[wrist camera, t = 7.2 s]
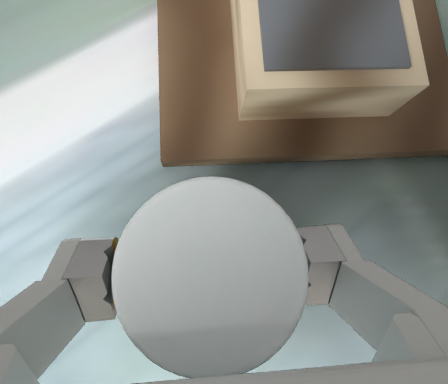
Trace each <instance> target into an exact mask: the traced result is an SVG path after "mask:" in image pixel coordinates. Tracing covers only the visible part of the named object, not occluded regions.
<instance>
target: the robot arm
mask: <svg viewBox="0 0 448 384" xmlns="http://www.w3.org/2000/svg"><path fill="white" fill-rule="evenodd" d="M296 229H297V231H298V232H299V234H300V237H301V239H302V242H303V244H304V248H305V252H306V256H307V262H308V273H309V274H308V279H309V283H308V294H307V299H306V303H305V305H323V304H329V306H330V307H331V308H332V309H333V310H334V311H335V312H336V313H337V314H338V315H339V316H340V317H341V318H342V319H343V320H345V321H346V322H347V323H348V324H349V325H350V326H351V327H352V328H353V329H354V330H355V331H356V332H357V333H358V334H359V335H360V336H361V337H362V338H363V339H364V340H366V341H367V342H368V343H369V344H370V345H371V346H372V347H373V348H374V349H375V350H376V351H377V352H376V354H375V356H374V358H373V360H372V362H370V363H359V364H348V365H336V366H325V367H314V368H303V369H291V370H280V371H269V372H257V373H246V374H235V375H224V376H212V377H201V378H190V379H179V380H167V381H156V382H145V383H133V384H448V307H446V306H444V305H443V304H441V303H439V302H438V301H436V300H434V299H433V298H431V297H429V296H428V295H426V294H424V293H423V292H421V291H419V290H418V289H416V288H415V287H413V286H411V285H410V284H408V283H406V282H405V281H403V280H401V279H400V278H398V277H396V276H395V275H393V274H391V273H390V272H388V271H386V270H385V269H383V268H382V267H380V266H378V265H377V264H375V263H373V262H372V261H370V260H364V259H363V257H362V255H361V254H360V252H359V251H358V249H357V248H356V246H355V244H354V243H353V241H352V240H351V238H350V237H349V235H348V233H347V232H346V230H345V229H344V227H343V226H342V225H341V224H328V225H318V226H302V227H296ZM117 244H118V238H116V237H95V238H73V239H64V240H63V241H62V242H61V243H60V245H59V247H58V249H57V251H56V253H55V255H54V257H53V259H52V261H51V263H50V265H49V267H48V269H47V270H46V272H45V274H44V276H43V278H42V280H41V281H36V282H34V283H33V284H32V285H30V286H29V287H27V288H26V289H25V290H23V291H22V292H21V293H19V294H18V295H17V296H15V297H14V298H12V299H11V300H10V301H8V302H7V303H6V304H4V305H3V306H2V307H0V384H39V382H38V380H37V379H38V378H39V377H40V376H41V375H42V374H43V372H44V371H45V370H46V369H47V368H48V367H49V365H50V364H51V363H52V362H53V361H54V360H55V358H56V357H57V356H58V355H59V354H60V353H61V351H62V350H63V349H64V348H65V347H66V346H67V344H68V343H69V342H70V341H71V340H72V339H73V338H74V336H75V335H76V334H77V333H78V332H79V331H80V329H81V328H82V327H83V326H84V325H85V322H92V321H102V320H112V319H115V318H116V314H117V311H116V308H115V305H114V300H113V294H112V281H111V277H112V265H113V259H114V254H115V250H116V247H117Z"/></svg>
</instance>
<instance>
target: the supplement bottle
mask: <svg viewBox="0 0 448 384" xmlns="http://www.w3.org/2000/svg"><path fill="white" fill-rule="evenodd" d="M308 274H309V273H308V262H307V256H306V252H305V248H304V244H303V242H302V239H301V237H300V234H299V232H298V231H297V229H296V227H295V225H294V223H293V221H292V219H291V218H290V217H289V216H288V215H287V213H286V212H285V211H284V210H283V208H282V207H281V206H280V205H279V204H278V203H277V202H276V201H274V200H273V199H272V198H271V197H270V196H269V195H267V194H266V193H265V192H263V191H261V190H260V189H258V188H256V187H254V186H253V185H250V184H248V183H245V182H242V181H239V180H236V179H232V178H226V177H216V176H204V177H196V178H191V179H187V180H183V181H180V182H177V183H175V184H173V185H170V186H168V187H166V188H164V189H162V190H160V191H159V192H158V193H156V194H155V195H154V196H152V197H151V198H150V199H149V200H147V201H146V202H145V203H144V204H143V205H142V206H141V207H140V208H139V209H138V210H137V211H136V212H135V214H134V215H133V216H132V218H131V219H130V221H129V222H128V224H127V225H126V227H125V228H124V230H123V233H122V235H121V237H120V239H119V241H118V244H117V247H116V250H115V254H114V259H113V265H112V277H111V281H112V294H113V300H114V305H115V308H116V311H117V314H118V317H119V320H120V322H121V324H122V326H123V328H124V330H125V332H126V334H127V335H128V337H129V338H130V339H131V341H132V342H133V344H134V345H135V346H136V347H137V348H138V349H139V350H140V351H141V352H142V353H143V354H144V355H145V356H146V357H147V358H148V359H149V360H151V361H152V362H153V363H155V364H157V365H158V366H160V367H161V368H163V369H165V370H167V371H169V372H172V373H174V374H176V375H179V376H183V377H186V378H201V377H212V376H224V375H235V374H244V373H246V372H248V371H251V370H253V369H255V368H257V367H259V366H260V365H262V364H263V363H265V362H266V361H268V360H269V359H270V358H271V357H273V356H274V355H275V354H276V353H277V352H278V351H279V350H280V349H281V348H282V346H283V345H284V344H285V343H286V342H287V340H288V339H289V338H290V336H291V335H292V333H293V332H294V330H295V328H296V326H297V324H298V322H299V320H300V318H301V315H302V312H303V309H304V306H305V303H306V299H307V294H308V283H309V279H308Z"/></svg>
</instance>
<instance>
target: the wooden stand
mask: <svg viewBox="0 0 448 384" xmlns="http://www.w3.org/2000/svg"><path fill="white" fill-rule="evenodd" d="M157 8H158V55H159V101H160V148H161V163H162V165H163V167H172V166H197V165H221V164H246V163H271V162H296V161H321V160H345V159H370V158H395V157H420V156H445V155H448V58H447V54H446V49H445V44H444V40H443V35H442V31H441V26H440V22H439V17H438V13H437V8H436V4H435V0H157Z"/></svg>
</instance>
